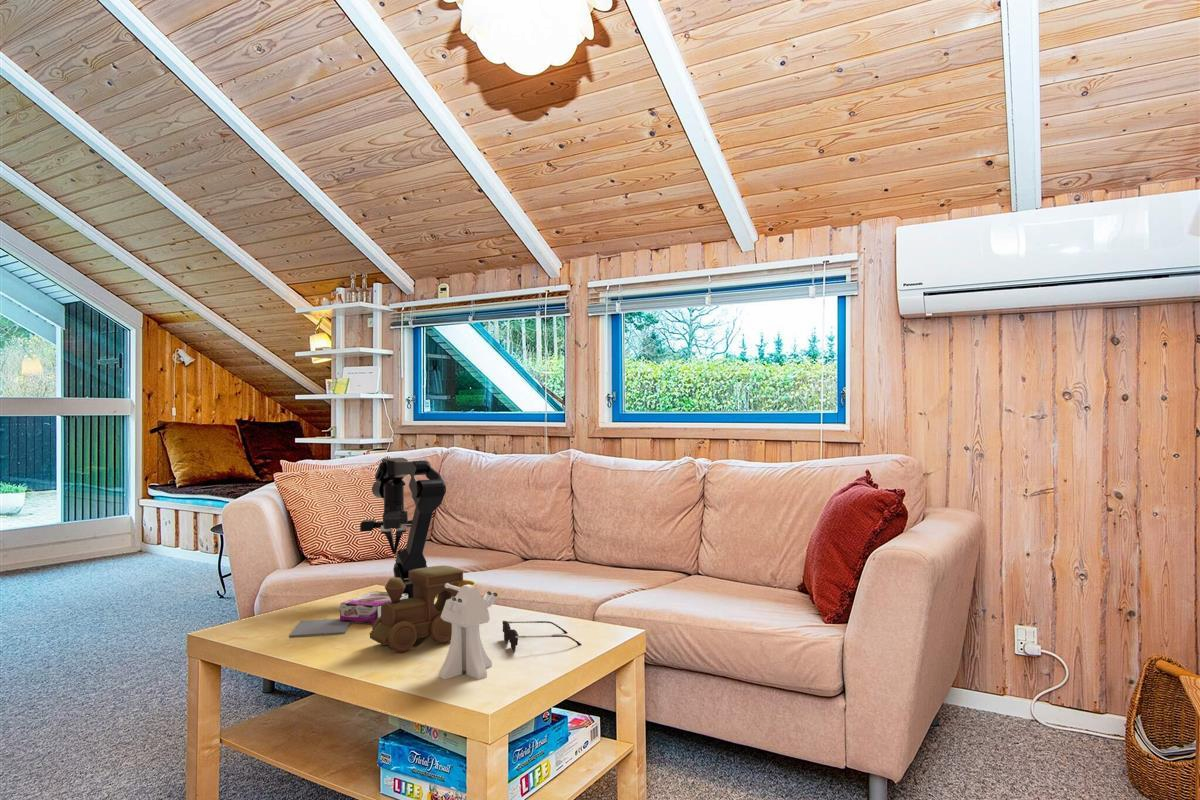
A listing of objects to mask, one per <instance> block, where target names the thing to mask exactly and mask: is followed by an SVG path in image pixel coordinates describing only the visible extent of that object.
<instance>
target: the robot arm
mask: <svg viewBox="0 0 1200 800" xmlns="http://www.w3.org/2000/svg"><path fill="white" fill-rule="evenodd" d="M408 475H409V476H410V480H409V483H408V488H409V490H410V492H411V494H412V495H411V499H412V501H413V502H414V504H415V508H414V512H413V517H412V520H409V516H408V515H409V513H408V511H407V510H405V495H404V494H405V490H404V488H405V487H404V486H406V482H405V481H404V480H403V479H404V477H406V476H408ZM415 476H425V477H426V478H427V479H418V480H416V478H415ZM374 477H375V481H374V482H373V484H372V485H371V486H372V487H371V491H372V492H371V493H372V495H373V496H374V497H376V498H379V499H383V513H382V521H377V519H376V518H374V519H373V518H372V519H370V518H369V519H363V520H362V521H361V522H360V525H359V531H360V532H371V531H374V529H380V534H384V536H385V537H386V539H387V542H388V543H389V547H390V550H391V552H392V554H393V555H396V558H395V563H394V564H393V568H392V569H393V576H394V577H393V578H401V580H402V581H403V583H404V584H405V585H406V587H405V589H404V591H403V593H406V594H408V598H414V595H413V583H412V582H409V571H410V570H414V569H418V568H425V567H428V565H427V560H426V557H425V556H424V550H425V545H426V541H427V537H428V534H429V530H430V526H431V522H432V518H433V513H434V511H435V510H436V509H437V508H439V507H440V506H441V504H443V500H444V497H445V495H446V492H447V487H446V484H445V481H444V479H443V477H442V475H441V474H440V473H439V472H438V471H437V470H435V468H433V467H432V466H431V464H430V462H429V461H428V460H426V459H424V460H411V461H408V459H407V458H405V457H389V458H388V457H386V458H382V459H381V462H379V465H378V468H377V470H376V472H375V475H374ZM408 528H410V529H409V533H408V537H407V542H406V544H405V545H406V546H405V548H400V549H398V547H399V546H400V545H399V544H400V541H401V539H402V537H403V534H404V533H407V532H408ZM393 529H395V530H396V531H395V538H394V531H393Z"/></svg>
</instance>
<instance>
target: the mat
mask: <svg viewBox="0 0 1200 800" xmlns="http://www.w3.org/2000/svg"><path fill="white" fill-rule="evenodd" d="M351 623H352V622H344V621H340V618H327V619H326V618H325V619H323V618H322V619H307V620H306V619H305V620H300V621H299V622H298V623H297V625H296V626H295V627H294V629H293V630H292V631H291V632H290V633H289V634H288V636H289V638H301V637H302V638H303V637H314V636H315V637H317V636H333V635H345V634H346V633H347V631H348V629H349V627H350V625H351Z"/></svg>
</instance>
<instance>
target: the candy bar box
mask: <svg viewBox="0 0 1200 800" xmlns="http://www.w3.org/2000/svg"><path fill="white" fill-rule="evenodd" d="M407 598H408V594H406V593H403V594H402V596H401V598H400V600H401V599H407ZM390 601H391V599H390V597H389V595H388V593H387V591H378V590H373V591H370V592H368V593H365V594H362V595H358V596H356V597H354V598H352V599H348V600H345V601H343V602H341V603H340V604H339V605H340V607H339V613H340V614H339V619H340V621H344V622H351V623H358V624H371V625H373V624H374V622H375V621H376V620H377V618H379V617H380V616H381V604H382V603H386V602H390Z"/></svg>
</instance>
